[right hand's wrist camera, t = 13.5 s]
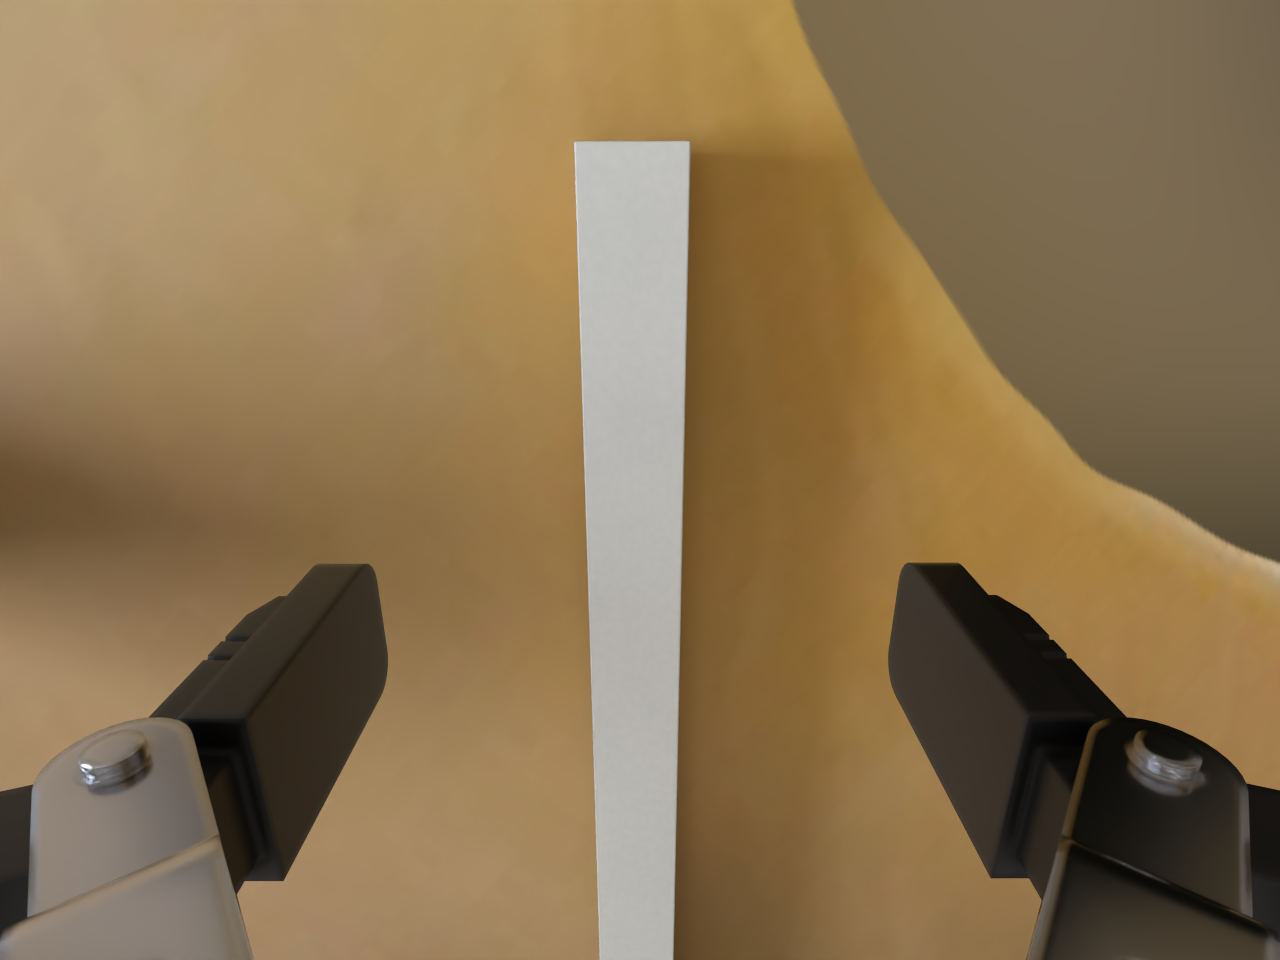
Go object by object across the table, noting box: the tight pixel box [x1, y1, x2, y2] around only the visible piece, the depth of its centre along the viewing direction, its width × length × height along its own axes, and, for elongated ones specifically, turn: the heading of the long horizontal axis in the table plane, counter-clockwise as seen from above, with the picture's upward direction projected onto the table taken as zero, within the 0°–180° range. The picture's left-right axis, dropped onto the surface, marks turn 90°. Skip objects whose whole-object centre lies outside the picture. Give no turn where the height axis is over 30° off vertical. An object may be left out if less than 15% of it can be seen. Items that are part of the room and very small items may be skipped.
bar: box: [574, 141, 691, 960], centre depth 39 cm, size 57×4×6 cm, turn 0°
